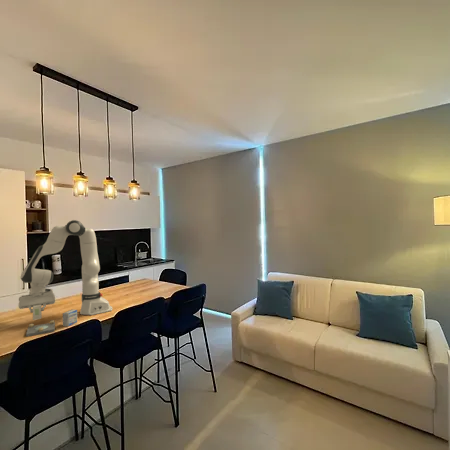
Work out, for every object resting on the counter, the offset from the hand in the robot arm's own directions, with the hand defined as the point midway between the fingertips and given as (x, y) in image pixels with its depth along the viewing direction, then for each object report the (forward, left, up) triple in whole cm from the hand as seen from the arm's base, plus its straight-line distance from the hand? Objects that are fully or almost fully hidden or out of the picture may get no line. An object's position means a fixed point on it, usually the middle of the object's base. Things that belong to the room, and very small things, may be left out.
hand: (37, 311), depth 172 cm
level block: (0, -1, -5) cm, 5 cm away
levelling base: (-3, +14, -8) cm, 17 cm away
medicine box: (-18, +12, -9) cm, 24 cm away
